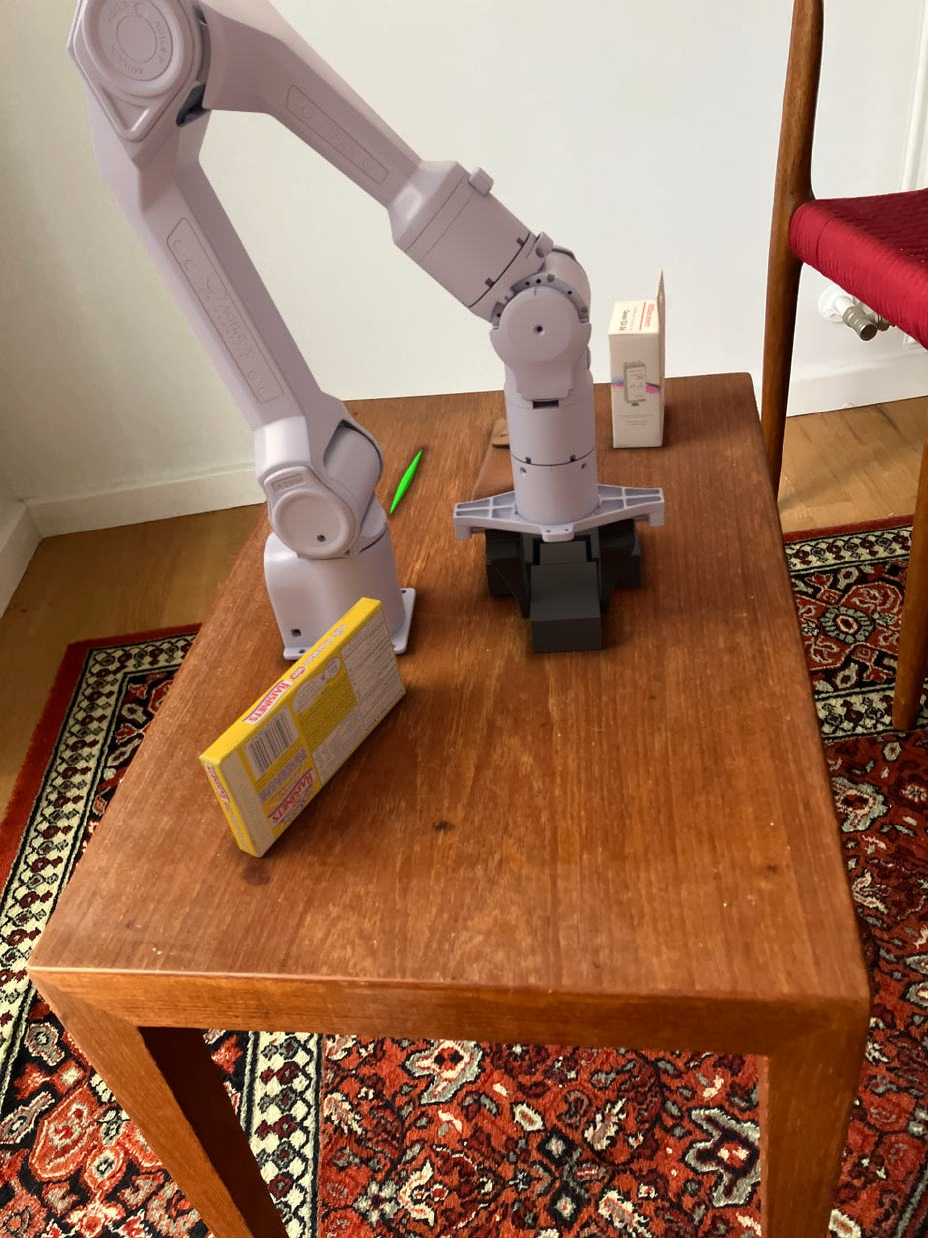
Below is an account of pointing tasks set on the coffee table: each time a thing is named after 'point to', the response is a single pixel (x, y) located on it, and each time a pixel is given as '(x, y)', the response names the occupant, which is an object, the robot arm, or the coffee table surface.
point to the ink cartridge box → (638, 370)
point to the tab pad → (564, 600)
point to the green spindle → (405, 482)
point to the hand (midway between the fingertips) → (564, 608)
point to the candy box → (304, 727)
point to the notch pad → (627, 577)
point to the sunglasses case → (495, 465)
